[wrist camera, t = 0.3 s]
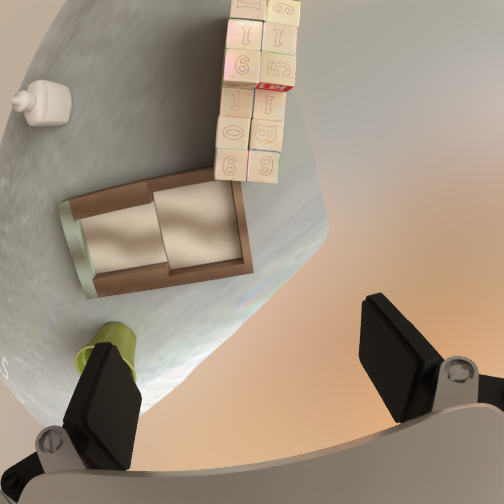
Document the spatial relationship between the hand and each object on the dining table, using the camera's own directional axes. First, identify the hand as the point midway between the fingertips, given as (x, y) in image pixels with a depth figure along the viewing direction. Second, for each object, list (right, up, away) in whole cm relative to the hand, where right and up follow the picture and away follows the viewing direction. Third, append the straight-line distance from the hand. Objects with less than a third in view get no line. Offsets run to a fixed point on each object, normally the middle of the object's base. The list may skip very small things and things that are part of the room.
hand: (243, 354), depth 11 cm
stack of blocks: (0, +24, +23) cm, 33 cm away
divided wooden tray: (-13, +6, +29) cm, 32 cm away
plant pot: (-21, -10, +34) cm, 42 cm away
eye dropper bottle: (-25, +23, +21) cm, 40 cm away
